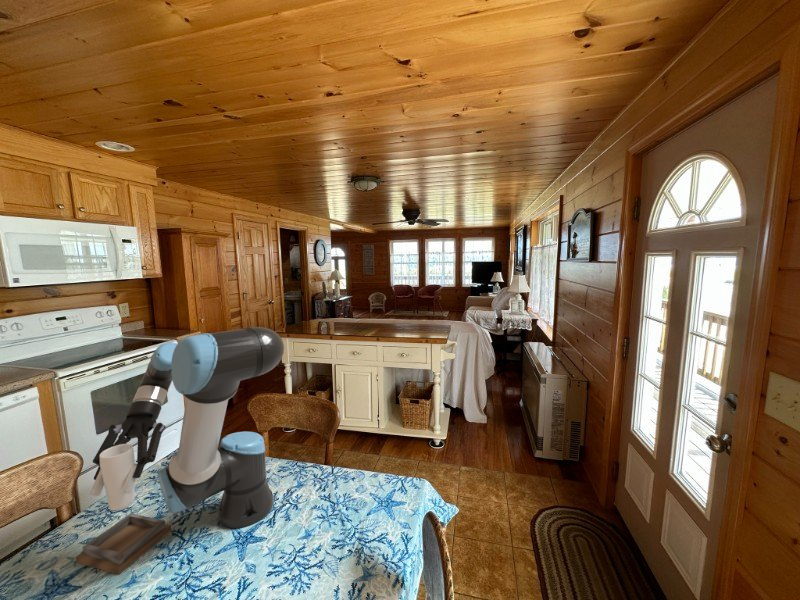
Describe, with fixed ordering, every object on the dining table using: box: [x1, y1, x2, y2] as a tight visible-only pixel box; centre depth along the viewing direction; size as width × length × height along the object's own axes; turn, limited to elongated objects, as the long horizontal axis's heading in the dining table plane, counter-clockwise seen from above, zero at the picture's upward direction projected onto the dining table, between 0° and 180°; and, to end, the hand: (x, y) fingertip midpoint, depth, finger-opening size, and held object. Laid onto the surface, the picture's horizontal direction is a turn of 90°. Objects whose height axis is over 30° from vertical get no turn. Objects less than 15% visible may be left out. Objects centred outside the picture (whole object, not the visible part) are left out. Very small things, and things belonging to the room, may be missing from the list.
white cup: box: [99, 443, 136, 511], centre depth 87 cm, size 7×7×15 cm
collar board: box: [75, 512, 173, 575], centre depth 88 cm, size 14×14×4 cm
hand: (110, 493), depth 84 cm, fingers closed on white cup, 7 cm apart
